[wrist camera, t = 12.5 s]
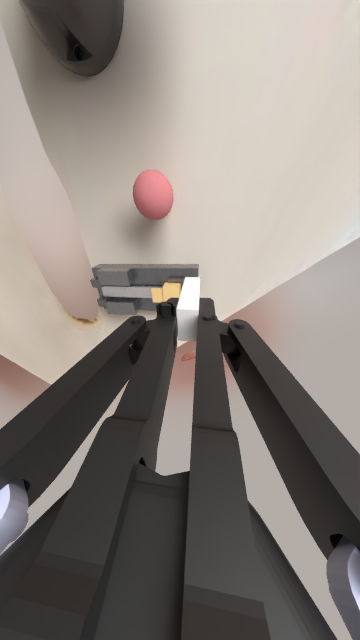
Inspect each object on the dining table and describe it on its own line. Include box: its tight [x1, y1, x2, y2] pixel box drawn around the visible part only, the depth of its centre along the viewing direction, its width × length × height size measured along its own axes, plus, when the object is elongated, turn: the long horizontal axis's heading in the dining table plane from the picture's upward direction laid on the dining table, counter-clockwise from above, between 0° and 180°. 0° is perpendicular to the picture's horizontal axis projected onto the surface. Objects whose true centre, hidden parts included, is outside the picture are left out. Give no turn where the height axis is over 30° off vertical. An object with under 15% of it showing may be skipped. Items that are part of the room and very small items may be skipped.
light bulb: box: [133, 170, 173, 220], centre depth 31 cm, size 7×7×12 cm
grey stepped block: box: [91, 264, 199, 315], centre depth 44 cm, size 28×12×7 cm, turn 91°
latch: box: [151, 282, 181, 303], centre depth 41 cm, size 7×5×4 cm
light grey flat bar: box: [101, 285, 163, 298], centre depth 43 cm, size 18×3×1 cm, turn 91°
